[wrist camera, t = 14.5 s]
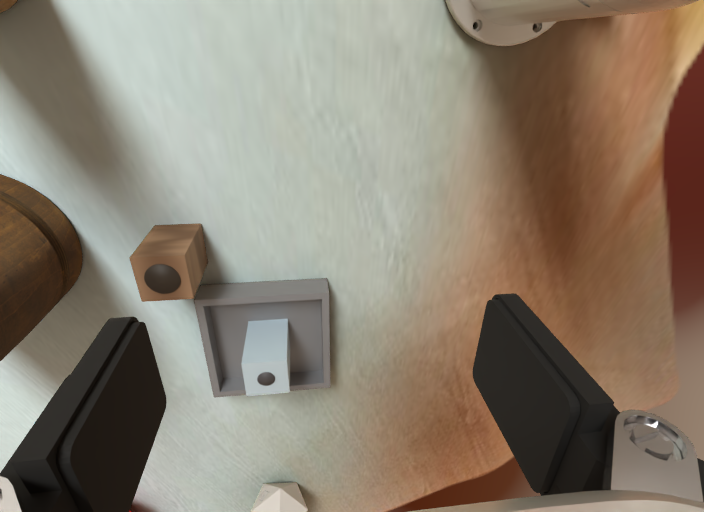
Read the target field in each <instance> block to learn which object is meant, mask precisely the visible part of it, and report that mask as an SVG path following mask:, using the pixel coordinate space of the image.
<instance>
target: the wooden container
mask: <svg viewBox="0 0 704 512" xmlns="http://www.w3.org/2000/svg"><path fill="white" fill-rule="evenodd" d="M82 260H83V259H82V249H81V245H80V242H79V239H78V237H77V234H76V232H75V230H74V228H73V227H72V225H71V223H70V222H69V221H68V219H67V218H66V217H65V215H64V214H63V213H62V212H61V211H60V210H59V209H58V208H57V207H56V206H55V205H54V204H53V203H52V202H51V201H50V200H48V199H47V198H46V197H45V196H43V195H42V194H40V193H39V192H37V191H36V190H34V189H33V188H31V187H29V186H27V185H26V184H24V183H21V182H19V181H17V180H15V179H12V178H10V177H7V176H4V175H1V174H0V361H1V360H2V359H3V358H4V357H5V356H6V355H7V354H8V353H9V352H10V351H11V350H12V349H13V348H14V347H15V346H17V345H18V344H19V343H20V342H21V341H22V340H23V339H24V338H25V337H26V336H27V335H28V334H29V333H30V332H31V331H32V330H33V329H34V327H35V326H36V325H37V324H38V323H39V322H40V321H41V320H42V319H43V318H44V317H45V316H46V315H47V314H48V313H49V312H50V311H51V310H52V308H53V307H54V306H55V305H56V304H57V303H58V302H59V301H60V300H61V299H62V298H63V297H64V295H65V294H66V293H67V292H68V291H69V290H70V289H71V288H72V286H73V285H74V284H75V282H76V281H77V279H78V277H79V275H80V272H81V268H82Z"/></svg>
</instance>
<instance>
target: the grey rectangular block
mask: <svg viewBox="0 0 704 512" xmlns="http://www.w3.org/2000/svg"><path fill="white" fill-rule="evenodd" d="M241 365H242V371H243V378H244V384H245V390H246V396H256V395H267V394H278V393H289V392H290V339H289V327H288V319H275V320H261V321H248V327H247V333H246V339H245V345H244V351H243V357H242V363H241Z"/></svg>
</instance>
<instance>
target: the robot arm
mask: <svg viewBox="0 0 704 512" xmlns="http://www.w3.org/2000/svg"><path fill="white" fill-rule="evenodd" d="M696 1H698V0H446V3H447V6H448V9H449V11H450V13H451V14H452V16H453V18H454V20H455V21H456V23H457V24H458V25H459V26H460V27H461V28H462V29H463V31H464V32H465V33H467V34H468V35H469V36H471V37H472V38H474V39H475V40H477V41H480V42H482V43H485V44H488V45H495V46H512V45H517V44H522V43H525V42H527V41H530V40H532V39H534V38H536V37H538V36H539V35H541V34H543V33H544V32H546V31H547V30H549V29H550V28H551V27H552V26H553V25H554V24H555V23H556V22H557V21H564V20H574V19H585V18H595V17H605V16H616V15H626V14H636V13H647V12H656V11H664V10H669V9H674V8H678V7H682V6H685V5H688V4H691V3H693V2H696ZM473 23H475V24H476V27H475V29H473ZM533 25H534V29H533ZM473 378H474V382H475V384H476V386H477V388H478V389H479V391H480V393H481V395H482V397H483V399H484V401H485V402H486V404H487V406H488V408H489V410H490V412H491V414H492V415H493V417H494V419H495V421H496V423H497V425H498V427H499V428H500V430H501V432H502V434H503V436H504V438H505V440H506V442H507V443H508V445H509V447H510V449H511V451H512V453H513V455H514V456H515V458H516V460H517V462H518V464H519V466H520V467H521V469H522V471H523V473H524V475H525V477H526V479H527V481H528V482H529V484H530V486H531V488H532V489H533V490H534V491H535V492H536V493H540V494H541V496H535V497H525V498H516V499H508V500H500V501H491V502H484V503H475V504H467V505H458V506H450V507H442V508H434V509H426V510H417V511H409V512H704V461H703V460H700V459H698V458H697V454H696V451H695V448H694V446H693V444H692V443H691V441H690V440H689V439H688V437H687V436H686V435H685V434H684V433H683V432H682V431H681V430H679V429H678V428H677V427H676V426H674V425H673V424H671V423H670V422H668V421H667V420H665V419H663V418H661V417H659V416H656V415H655V414H652V413H648V412H645V411H641V410H627V411H623V412H621V413H620V412H619V411H618V410H617V409H616V408H615V407H614V405H613V404H614V402H613V400H612V399H611V398H610V397H609V396H608V395H607V394H606V393H605V391H604V390H603V389H602V388H601V387H600V386H599V385H598V384H597V383H596V381H595V380H594V379H593V378H592V377H591V376H590V375H589V374H588V373H587V371H586V370H585V369H584V368H583V367H582V366H581V365H580V364H579V363H578V361H577V360H576V359H575V358H574V357H573V356H572V355H571V354H570V353H569V351H568V350H567V349H566V348H565V347H564V346H563V345H562V344H561V343H560V341H559V340H558V339H557V338H556V337H555V336H554V335H553V334H552V333H551V331H550V330H549V329H548V328H547V327H546V326H545V325H544V324H543V323H542V321H541V320H540V319H539V318H538V317H537V316H536V315H535V314H534V313H533V311H532V310H531V309H530V308H529V307H528V306H527V305H526V304H525V303H524V301H523V300H522V299H521V298H520V297H519V296H518V295H517V294H497V295H494V297H493V298H492V300H489V301H488V302H487V305H486V309H485V314H484V319H483V324H482V328H481V333H480V338H479V343H478V347H477V352H476V357H475V362H474V367H473ZM165 408H166V395H165V391H164V388H163V384H162V381H161V377H160V374H159V370H158V367H157V363H156V360H155V356H154V352H153V349H152V345H151V342H150V338H149V335H148V331H147V328H146V325H145V323H144V322H138V320H137V318H136V317H123V318H111V319H109V320H108V321H107V322H106V324H105V325H104V327H103V328H102V329H101V331H100V332H99V334H98V335H97V337H96V338H95V340H94V341H93V343H92V344H91V346H90V347H89V349H88V350H87V351H86V353H85V354H84V356H83V357H82V359H81V360H80V362H79V363H78V365H77V366H76V368H75V369H74V371H73V372H72V373H71V375H69V376H68V377H67V378H66V379H65V380H64V382H63V383H62V384H61V386H60V387H59V389H58V390H57V392H56V393H55V395H54V396H53V397H52V399H51V400H50V402H49V403H48V405H47V406H46V408H45V409H44V411H43V412H42V413H41V415H40V416H39V418H38V419H37V421H36V422H35V424H34V425H33V427H32V428H31V429H30V431H29V432H28V434H27V435H26V437H25V438H24V440H23V441H22V442H21V444H20V445H19V447H18V448H17V450H16V451H15V453H14V454H13V456H12V457H11V458H10V460H9V461H8V463H7V464H6V466H5V467H4V469H3V470H2V471H1V473H0V512H129V510H130V507H131V505H132V502H133V499H134V496H135V493H136V491H137V488H138V485H139V482H140V479H141V476H142V474H143V471H144V468H145V465H146V462H147V460H148V457H149V454H150V451H151V448H152V446H153V443H154V440H155V437H156V434H157V431H158V429H159V426H160V423H161V420H162V417H163V415H164V412H165Z"/></svg>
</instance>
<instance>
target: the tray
mask: <svg viewBox="0 0 704 512" xmlns="http://www.w3.org/2000/svg"><path fill="white" fill-rule="evenodd" d="M194 303H195V308H196V313H197V318H198V322H199V327H200V332H201V337H202V342H203V347H204V352H205V356H206V361H207V366H208V371H209V376H210V381H211V386H212V390H213V395H214V397H224V396H236V395H246V390H245V384H244V378H243V371H242V365H241V363H242V357H243V351H244V345H245V339H246V333H247V327H248V321H261V320H275V319H288V327H289V339H290V391H294V390H305V389H317V388H329V387H330V326H329V289H328V282H327V278H322V279H303V280H284V281H265V282H247V283H228V284H209V285H200V286H199V289H198V291H197V294H196V296H195V299H194Z"/></svg>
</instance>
